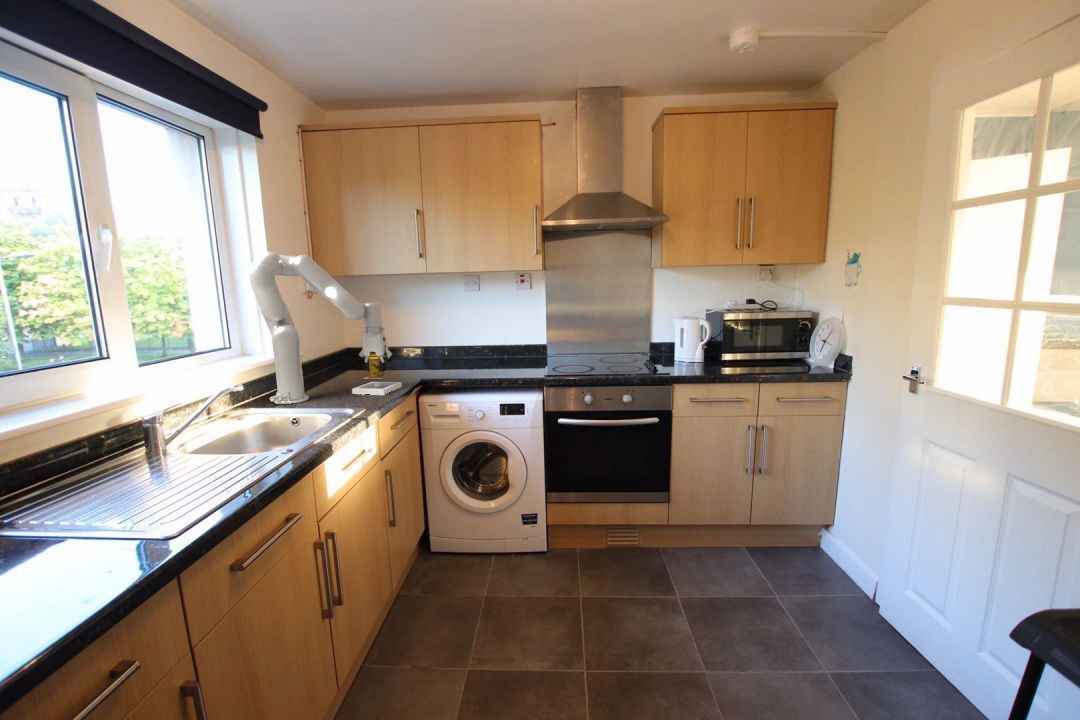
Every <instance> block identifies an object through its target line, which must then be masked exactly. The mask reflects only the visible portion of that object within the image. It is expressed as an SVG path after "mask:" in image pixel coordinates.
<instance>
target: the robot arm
mask: <svg viewBox="0 0 1080 720" xmlns="http://www.w3.org/2000/svg"><path fill="white" fill-rule="evenodd" d="M248 273H249V274H248V276H249V277H248V278H249V282H250V285H251V288H252V291H253V293H254V296H255V298H256V301H257V304H258V306H259V309H260V312H261V315H262V317H263V318H264V319H263V320H264V322H265V323H266V326H267V328H268V331H270V332H269V333H270V335H271V344H272V352H273V361H274V362H273V363H274V369H275V379H276V387H277V388H276V389H277V391H276V393H275V395H273V396H270V397H269V401H270V402H274V403H275V404H277V405H290V404H291V405H292V403H293V404H298V403H303V402H307V401H308V400H310V396H309V395H306V394H305V385H304V376H303V374H304V373H303V368H302V366H303V365H302V356H301V341H300V339H301V338H300V334H299V330H298V329H297V328H296V325H295V323H294V321H293V318H292V316H291V314H290V311H289V307H288V306H287V304H286V303H285V300H284V299H283V297H282V294H281V292H280V290H279V287H278V284H277V282H276V276H283V277H284V276H285V277H295V278H297V277H299V278H300V279H302V280H303V281H304V282H305V283H306V284H308V286H310V287H311V288H312V289H313V290H314V291H315V292H316V293H317V294H318V295H320V296H321V297H323V299H326V300H327V301H329V302H331V304H333V306H334V305H335V307H336V308H338V309H339V310H340V311H341V312H342V313H343V315H344V317H345V318H347V319H349V320H351V321H359V320H361V319H363V328H364V333H363V334H362V336H363V337H362V349H361V351H360V352H359V353H358V356H359V357H361V358H362V360H363V361H364V362H365V365H366V371H367V372H370V371H369V355H370V352H375V353H376V355H377V356H379V357H380V359H381V361H382V363H381V371H382V372H383V371H384V372H386V371H387V368H388V367H387V362H388V360H390V358H391V357H392V355H393V353H392V352H391V351H390V350H389V346H388V340H387V336H386V334H385V331H386V328H385V327H384V326H383V318H382V316H383V315H382V306H381V304H380V303H379V302H375V301H374V302H362V303H361V302H359V301H358V300H357V299H356V298H355V297H354V296H353V295H352V294H350V292H349V291H347V290H346V288H344V287H343V286H342V285H341V284H340V283H339V282H338V281H337V280H336V279H334V278H333V277H332V275H330V274H329V273H328V272H327V271H326V270H325V269H323V268H322V267H321V266H320V265H319V264H318V263H317V262H316V261H315V260H314V259H312V258H311V257H310V256H309V255H306V254H299V255H297V256H295V255H286V254H285V255H284V254H278V253H276V252H274V251H264V252H262V253H259V255H258V256H257V257H256V258H255V259H254V260H253V262H252V263H251V264H250V267H249V271H248Z"/></svg>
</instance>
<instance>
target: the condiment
mask: <svg viewBox="0 0 1080 720" xmlns="http://www.w3.org/2000/svg"><path fill="white" fill-rule="evenodd" d="M381 363H382V361H381V359H380V357H379V356H377V355H376V353H375V352H370V355H369V371H368V372H369V375H368V376H366V377H363V378H362V379H365V380H366V379H368V380H369V379H371V380H375V379H377V380H381V379H384V378H386V377H387V376H388V375H385V371H383V372H382V371H381ZM388 377H389V376H388Z"/></svg>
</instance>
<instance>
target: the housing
mask: <svg viewBox="0 0 1080 720" xmlns="http://www.w3.org/2000/svg"><path fill="white" fill-rule="evenodd" d="M402 384H403V382H402V381H399V382H398V381H371V382H367V383H365V384H362V385H359V386H357V387H354V388H352V389H351V393H352V394H357V395H358V394H359V395H360V394H361V396H366V395H365V394H370V395H369V396H386V395H388V394H390V393H389V392H391V391H393V392H395V391H397V390H396V389H398V388H400V387H402V388H403V385H402ZM400 389H401V388H400ZM394 390H395V391H394ZM398 390H399V389H398ZM387 393H388V394H387ZM391 393H392V392H391ZM385 394H386V395H385ZM359 395H358V396H359Z"/></svg>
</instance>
